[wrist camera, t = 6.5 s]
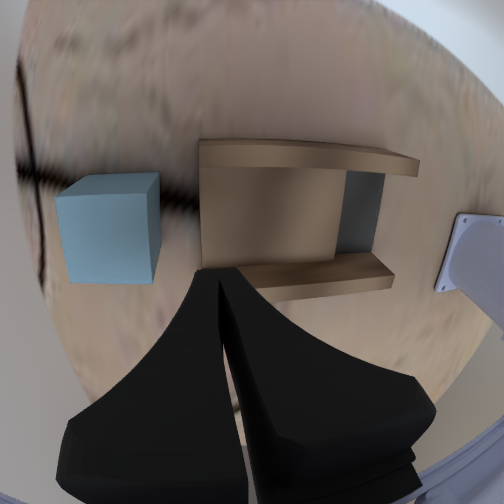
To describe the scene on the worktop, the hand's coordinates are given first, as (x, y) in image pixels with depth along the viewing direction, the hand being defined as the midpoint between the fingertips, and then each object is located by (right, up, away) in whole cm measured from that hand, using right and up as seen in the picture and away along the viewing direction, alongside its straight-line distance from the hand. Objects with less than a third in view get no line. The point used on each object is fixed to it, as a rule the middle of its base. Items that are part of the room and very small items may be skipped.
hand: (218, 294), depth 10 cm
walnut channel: (+4, +4, +8) cm, 10 cm away
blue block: (-4, +3, +5) cm, 7 cm away
